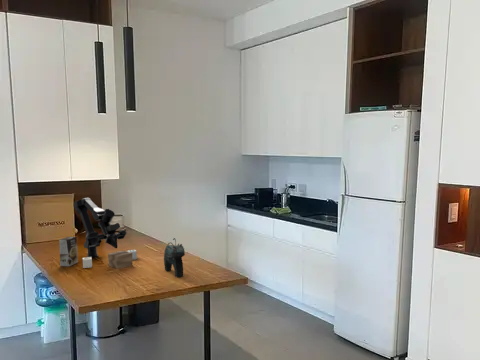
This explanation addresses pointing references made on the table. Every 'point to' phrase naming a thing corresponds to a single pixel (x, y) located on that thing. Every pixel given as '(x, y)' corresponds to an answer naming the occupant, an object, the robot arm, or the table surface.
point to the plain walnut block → (120, 259)
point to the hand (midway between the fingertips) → (116, 247)
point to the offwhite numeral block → (87, 262)
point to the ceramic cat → (174, 258)
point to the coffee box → (68, 251)
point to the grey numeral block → (133, 253)
